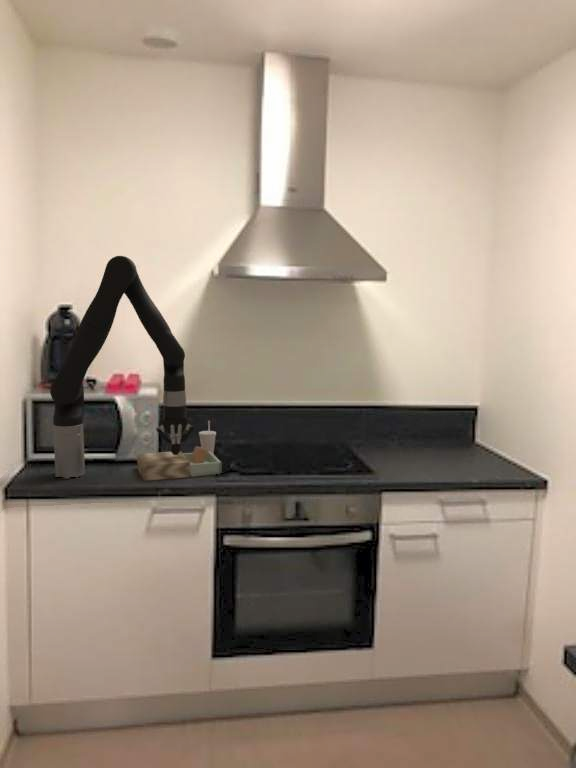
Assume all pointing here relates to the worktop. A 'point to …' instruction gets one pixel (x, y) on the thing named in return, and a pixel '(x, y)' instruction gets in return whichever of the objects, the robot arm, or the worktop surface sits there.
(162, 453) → the chevron patterned box
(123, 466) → the worktop surface
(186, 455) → the box
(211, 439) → the smoothie
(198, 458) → the orange brown lump
